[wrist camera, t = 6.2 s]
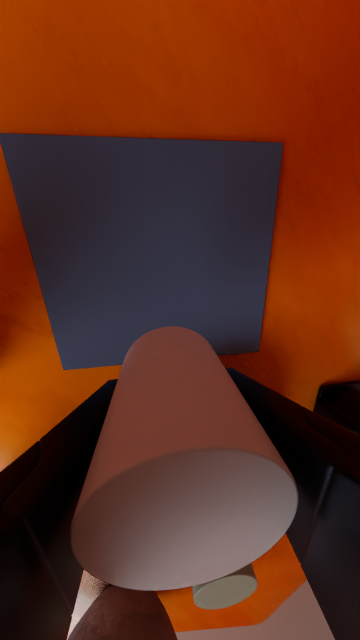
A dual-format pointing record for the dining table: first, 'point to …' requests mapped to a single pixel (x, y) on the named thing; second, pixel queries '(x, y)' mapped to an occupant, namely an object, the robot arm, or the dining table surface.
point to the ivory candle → (179, 473)
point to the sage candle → (226, 589)
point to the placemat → (146, 238)
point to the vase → (125, 617)
